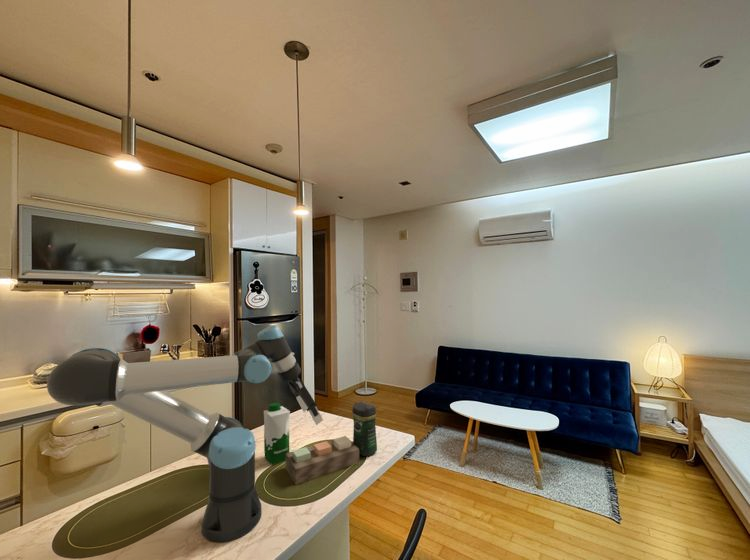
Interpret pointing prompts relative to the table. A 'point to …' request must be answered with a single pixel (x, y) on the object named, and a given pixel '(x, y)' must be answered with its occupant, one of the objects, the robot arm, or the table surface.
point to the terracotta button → (322, 448)
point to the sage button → (301, 455)
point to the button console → (321, 463)
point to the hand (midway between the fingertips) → (312, 415)
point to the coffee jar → (364, 428)
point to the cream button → (342, 443)
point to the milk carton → (276, 433)
